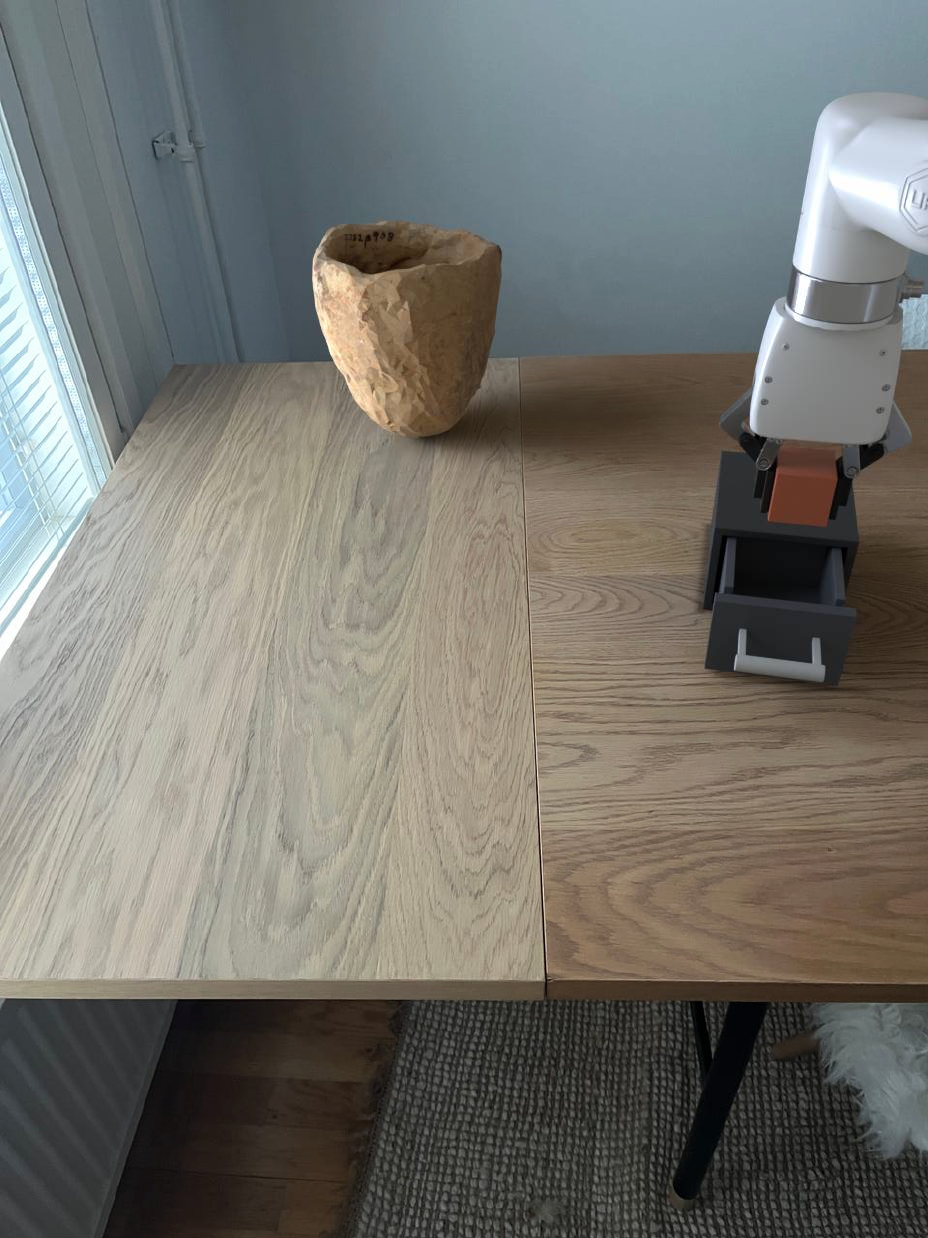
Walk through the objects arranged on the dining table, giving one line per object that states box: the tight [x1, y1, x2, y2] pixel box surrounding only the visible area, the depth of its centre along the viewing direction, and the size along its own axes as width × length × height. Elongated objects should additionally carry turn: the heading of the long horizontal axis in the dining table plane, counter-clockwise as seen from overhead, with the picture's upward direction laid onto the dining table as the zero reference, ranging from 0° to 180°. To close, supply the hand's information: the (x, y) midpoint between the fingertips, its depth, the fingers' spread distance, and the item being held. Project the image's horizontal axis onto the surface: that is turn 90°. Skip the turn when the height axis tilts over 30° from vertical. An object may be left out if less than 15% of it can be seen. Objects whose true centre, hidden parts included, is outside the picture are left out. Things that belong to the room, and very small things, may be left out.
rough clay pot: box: [311, 219, 503, 440], centre depth 116 cm, size 22×22×25 cm
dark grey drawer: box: [703, 536, 858, 687], centre depth 85 cm, size 18×11×8 cm, turn 166°
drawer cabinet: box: [702, 450, 860, 611], centre depth 94 cm, size 15×13×10 cm
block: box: [768, 445, 838, 527], centre depth 78 cm, size 5×5×5 cm
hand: (797, 505), depth 79 cm, fingers closed on block, 4 cm apart
